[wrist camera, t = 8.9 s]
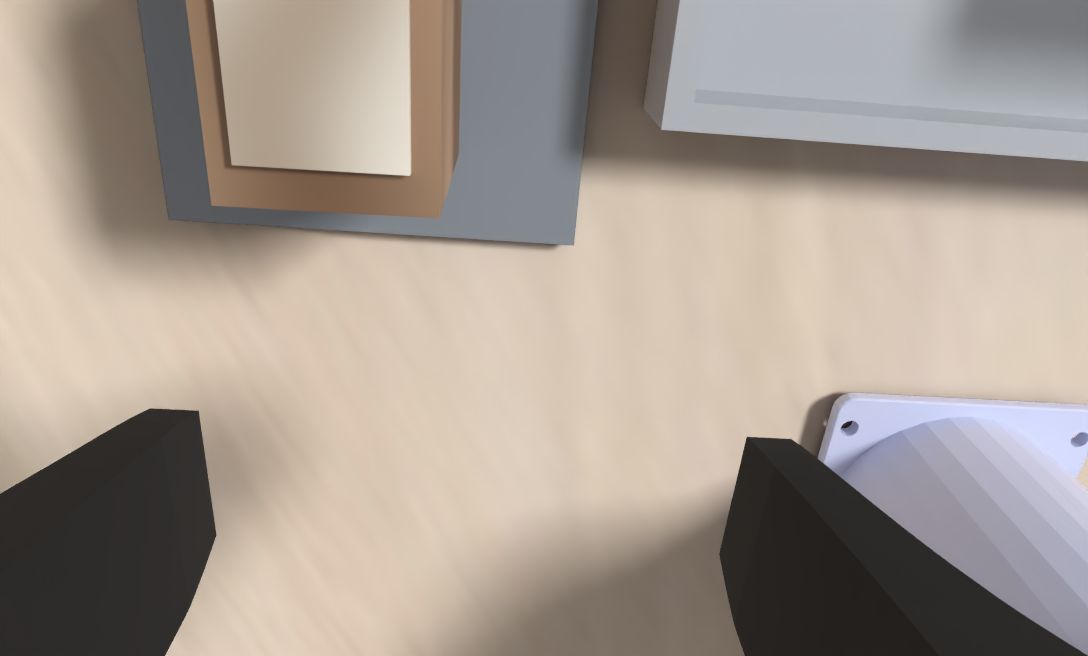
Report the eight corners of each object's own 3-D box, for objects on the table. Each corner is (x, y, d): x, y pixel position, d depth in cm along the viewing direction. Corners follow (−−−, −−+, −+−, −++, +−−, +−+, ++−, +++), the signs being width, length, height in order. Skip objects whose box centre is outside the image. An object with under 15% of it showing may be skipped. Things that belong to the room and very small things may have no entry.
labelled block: (464, -139, 15) (442, -182, 11) (458, 154, 18) (438, 221, 13) (265, -156, 15) (153, -208, 10) (288, 143, 18) (207, 209, 13)
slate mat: (572, 238, 20) (573, 245, 19) (176, 213, 19) (168, 219, 18) (619, -231, 15) (621, -237, 15) (108, -285, 15) (94, -292, 14)
